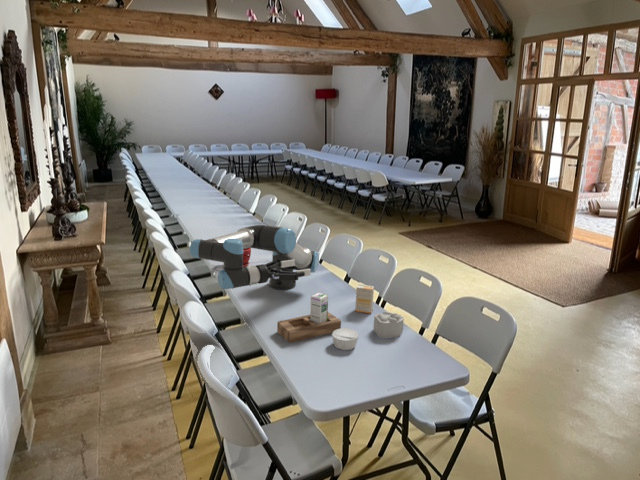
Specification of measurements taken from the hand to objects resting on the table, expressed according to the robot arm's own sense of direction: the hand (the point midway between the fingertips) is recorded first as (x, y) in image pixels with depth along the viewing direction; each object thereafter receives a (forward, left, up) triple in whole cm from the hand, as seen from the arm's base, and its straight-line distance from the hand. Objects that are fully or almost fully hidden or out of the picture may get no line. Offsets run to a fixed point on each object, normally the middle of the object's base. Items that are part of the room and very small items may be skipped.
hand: (302, 267), depth 202 cm
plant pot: (-99, +13, -32) cm, 105 cm away
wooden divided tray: (0, +5, -31) cm, 32 cm away
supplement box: (-7, +41, -32) cm, 52 cm away
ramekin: (+18, +12, -32) cm, 38 cm away
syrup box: (0, +10, -30) cm, 31 cm away
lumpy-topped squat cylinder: (+17, +37, -32) cm, 52 cm away
